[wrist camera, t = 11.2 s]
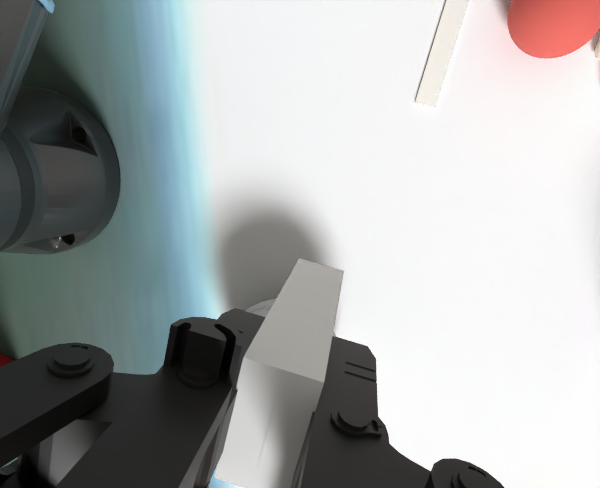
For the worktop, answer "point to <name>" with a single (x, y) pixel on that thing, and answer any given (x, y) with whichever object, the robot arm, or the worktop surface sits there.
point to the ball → (552, 25)
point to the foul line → (441, 51)
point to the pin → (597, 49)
